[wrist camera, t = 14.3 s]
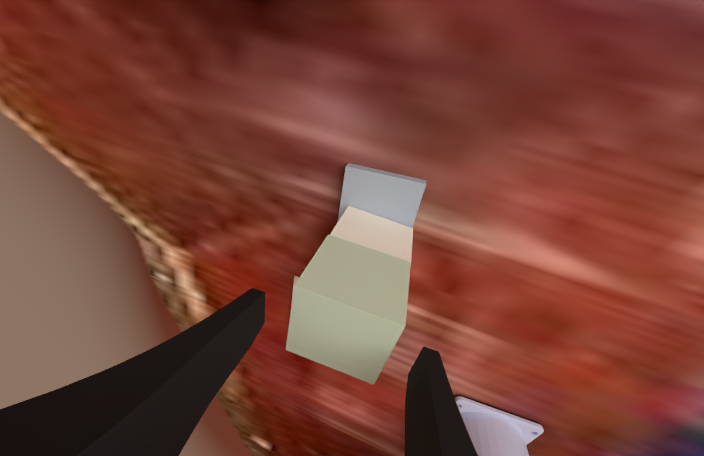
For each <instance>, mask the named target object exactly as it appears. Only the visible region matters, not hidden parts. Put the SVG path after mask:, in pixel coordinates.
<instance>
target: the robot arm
mask: <svg viewBox="0 0 704 456" xmlns="http://www.w3.org/2000/svg"><path fill="white" fill-rule="evenodd" d="M264 320H265V292H263V291H260V290H257V289H254V288H252V289H250V290H248V291H247V292H246V293H244V294H243V295H241V296H240V297H238V298H237V299H235V300H234V301H232V302H231V303H229V304H228V305H226V306H224V307H223V308H221V309H220V310H218V311H217V312H215V313H214V314H212V315H210V316H209V317H207V318H206V319H204V320H202V321H201V322H199V323H197V324H196V325H194V326H192V327H190V328H189V329H187V330H185V331H183V332H182V333H180V334H178V335H176V336H175V337H173V338H171V339H169V340H167V341H165V342H163V343H162V344H160V345H158V346H156V347H154V348H152V349H150V350H148V351H146V352H144V353H142V354H139V355H137V356H135V357H133V358H131V359H129V360H127V361H125V362H122V363H120V364H118V365H116V366H113V367H111V368H109V369H106V370H104V371H102V372H100V373H97V374H94V375H92V376H89V377H87V378H84V379H82V380H79V381H77V382H74V383H72V384H69V385H68V386H65V387H62V388H59V389H57V390H54V391H52V392H48V393H46V394H43V395H40V396H37V397H34V398H32V399H29V400H26V401H23V402H20V403H17V404H15V405H12V406H9V407H6V408H3V409H0V456H179V454H180V452H181V451H182V449H183V447H184V445H185V444H186V442H187V440H188V439H189V437H190V435H191V433H192V432H193V430H194V428H195V427H196V425H197V424H198V422H199V420H200V419H201V417H202V415H203V414H204V412H205V410H206V409H207V407H208V405H209V404H210V402H211V401H212V399H213V398H214V396H215V395H216V393H217V392H218V391H219V389H220V388H221V387H222V385H223V384H224V382H225V381H226V380H227V378H228V377H229V375H230V374H231V373H232V371H233V370H234V369H235V367H236V366H237V364H238V363H239V362H240V360H241V359H242V358H243V356H244V355H245V353H246V352H247V351H248V349H249V348H250V346H251V345H252V343H253V342H254V340H255V338H256V337H257V335H258V333H259V331H260V329H261V328H262V326H263V324H264ZM543 432H544V430H543V428H542V426H541V425H540V424H537V423H534V422H532V421H529V420H526V419H523V418H520V417H518V416H515V415H512V414H509V413H506V412H504V411H501V410H498V409H495V408H492V407H490V406H487V405H484V404H481V403H478V402H476V401H473V400H470V399H467V398H464V397H461V396H458V397H456V398H454V395H453V392H452V390H451V387H450V384H449V381H448V378H447V375H446V372H445V369H444V366H443V363H442V360H441V357H440V354H439V352H438V351H435V350H432V349H429V348H426V347H423V349H422V350H421V352H420V354H419V356H418V358H417V359H416V361H415V363H414V365H413V367H412V368H411V370H410V372H409V374H408V382H407V391H406V400H405V456H529V454H528V451H527V447H526V445H527V444H528V443H530V442H531V441H532V440H534V439H535V438H536V437H538V436H539V435H540V434H542V433H543Z"/></svg>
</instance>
